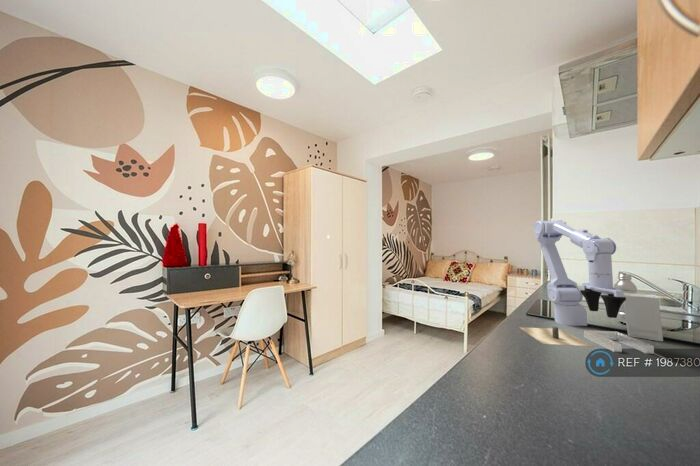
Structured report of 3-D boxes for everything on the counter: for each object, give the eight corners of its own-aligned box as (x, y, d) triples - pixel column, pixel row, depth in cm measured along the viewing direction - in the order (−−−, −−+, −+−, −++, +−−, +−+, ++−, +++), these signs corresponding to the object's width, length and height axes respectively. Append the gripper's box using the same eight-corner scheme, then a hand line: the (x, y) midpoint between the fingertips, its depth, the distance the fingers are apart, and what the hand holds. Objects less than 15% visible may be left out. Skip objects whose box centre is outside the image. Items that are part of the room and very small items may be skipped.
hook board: (559, 331, 95) (559, 319, 95) (593, 349, 79) (592, 334, 79) (519, 330, 97) (518, 318, 97) (543, 347, 81) (542, 332, 81)
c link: (617, 340, 85) (617, 331, 85) (654, 356, 73) (653, 346, 73) (584, 339, 87) (583, 330, 87) (614, 354, 75) (613, 344, 75)
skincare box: (661, 337, 88) (658, 294, 88) (663, 342, 83) (660, 297, 84) (625, 331, 94) (623, 291, 94) (626, 336, 89) (623, 294, 90)
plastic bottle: (645, 326, 98) (641, 275, 99) (624, 326, 100) (621, 275, 100) (630, 321, 105) (627, 273, 105) (611, 321, 106) (608, 273, 107)
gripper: (572, 271, 93) (574, 308, 93) (604, 276, 79) (606, 320, 79) (594, 271, 92) (596, 308, 92) (630, 276, 78) (633, 321, 77)
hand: (602, 314), depth 85 cm, fingers open, 7 cm apart
